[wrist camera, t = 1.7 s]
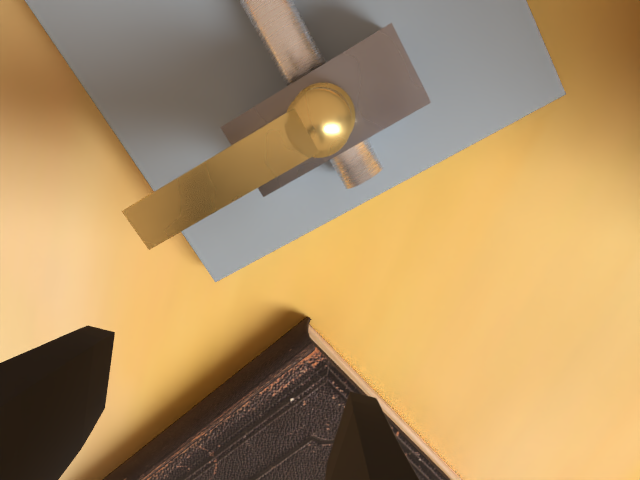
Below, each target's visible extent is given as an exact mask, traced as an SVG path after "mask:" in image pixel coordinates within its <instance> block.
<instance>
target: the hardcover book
mask: <svg viewBox="0 0 640 480" xmlns="http://www.w3.org/2000/svg"><path fill="white" fill-rule="evenodd" d="M310 320H311V319H310V318H308V317H306V318H305V319H304V320H303V321H301V322H300V323H299V324H298V325H296V326H295V327H294V328H293V329H291V330H290V331H289V332H287V333H286V334H285V335H284V336H282V337H281V338H280V339H279V340H277V341H276V342H275V343H274V344H272V345H271V346H270V347H269V348H267V349H266V350H265V351H264V352H262V353H261V354H260V355H259V356H257V357H256V358H255V359H254V360H252V361H251V362H250V363H249V364H247V365H246V366H245V367H244V368H242V369H241V370H240V371H238V372H237V373H236V374H235V375H233V376H232V377H231V378H230V379H228V380H227V381H226V382H225V383H223V384H222V385H221V386H220V387H218V388H217V389H216V390H215V391H213V392H212V393H211V394H210V395H208V396H207V397H206V398H205V399H203V400H202V401H201V402H200V403H198V404H197V405H196V406H195V407H193V408H192V409H191V410H190V411H188V412H187V413H186V414H184V415H183V416H182V417H181V418H179V419H178V420H177V421H176V422H174V423H173V424H172V425H171V426H169V427H168V428H167V429H166V430H164V431H163V432H162V433H161V434H159V435H158V436H157V437H156V438H154V439H153V440H152V441H151V442H149V443H148V444H147V445H146V446H144V447H143V448H142V449H141V450H139V451H138V452H137V453H135V454H134V455H133V456H132V457H130V458H129V459H128V460H127V461H125V462H124V463H123V464H122V465H120V466H119V467H118V468H117V469H115V470H114V471H113V472H112V473H110V474H109V475H108V476H107V477H105V478H104V479H103V480H325V475H326V467H327V461H328V458H329V455H330V452H331V449H332V446H333V443H334V439H335V436H336V433H337V430H338V427H339V424H340V421H341V417H342V414H343V411H344V408H345V405H346V402H347V398H348V395H349V392H354V393H358V394H362V395H366V396H370V397H374V398H377V400H378V402H379V404H380V406H381V408H382V410H383V412H384V414H385V416H386V418H387V420H388V422H389V424H390V426H391V428H392V430H393V432H394V434H395V436H396V438H397V440H398V442H399V444H400V446H401V448H402V450H403V452H404V453H405V455H406V457H407V459H408V461H409V462H410V464H411V466H412V468H413V469H414V471H415V473H416V475H417V477H418V478H419V480H462V479H461V478H460V477H459V476H458V475H457V474H456V473H455V472H454V471H453V470H452V469H451V468H450V467H449V466H448V465H447V464H446V463H445V462H444V461H443V460H442V459H441V458H440V457H439V456H438V455H437V454H436V453H435V452H434V451H433V450H432V449H431V448H430V447H429V446H428V445H427V444H426V442H425V441H424V440H423V439H422V438H421V437H420V436H419V435H418V434H417V433H416V432H415V431H414V430H413V429H412V428H411V427H410V426H409V425H408V424H407V423H406V422H405V421H404V420H403V419H402V418H401V417H400V416H399V415H398V414H397V413H396V412H395V411H394V410H393V409H392V408H391V407H390V406H389V405H388V404H387V403H386V402H385V401H384V400H383V399H382V398H381V397H380V396H379V395H378V394H377V393H376V392H375V391H374V390H373V389H372V388H371V387H370V386H369V385H368V384H367V383H366V382H365V381H364V379H363V378H362V377H361V376H360V375H359V374H358V373H357V372H356V371H355V370H354V369H353V368H352V367H351V366H350V365H349V364H348V363H347V362H346V361H345V360H344V359H343V358H342V357H341V356H340V355H339V354H338V353H337V352H336V351H335V350H334V349H333V348H332V347H331V346H330V345H329V344H328V343H327V342H326V341H325V340H324V339H323V338H322V337H321V336H320V335H319V334H318V333H317V332H316V331H315V330H314V329H313V328H312V327H311V326H310V325H309V322H310Z"/></svg>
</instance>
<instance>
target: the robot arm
mask: <svg viewBox="0 0 640 480" xmlns="http://www.w3.org/2000/svg"><path fill="white" fill-rule="evenodd" d="M114 335H115V332H111V331H107V330H103V329H99V328H95V327H91V326H86V327H83V328H80V329H78V330H76V331H73V332H71V333H69V334H66V335H64V336H62V337H59V338H57V339H55V340H53V341H50V342H48V343H46V344H44V345H41V346H39V347H37V348H34V349H32V350H30V351H27V352H25V353H23V354H20V355H18V356H16V357H13V358H11V359H9V360H6V361H4V362H2V363H0V480H58V479H59V478H60V477H61V475H62V474H63V473H64V471H65V470H66V469H67V467H68V466H69V465H70V463H71V462H72V461H73V459H74V458H75V457H76V455H77V454H78V452H79V451H80V450H81V448H82V447H83V445H84V443H85V442H86V440H87V438H88V437H89V435H90V433H91V432H92V430H93V428H94V426H95V425H96V423H97V421H98V419H99V417H100V416H101V414H102V412H103V410H104V408H105V402H106V395H107V387H108V380H109V372H110V365H111V357H112V350H113V342H114ZM325 480H419V478H418V477H417V475H416V473H415V471H414V469H413V468H412V466H411V464H410V462H409V461H408V459H407V457H406V455H405V453H404V452H403V450H402V448H401V446H400V444H399V442H398V440H397V438H396V436H395V434H394V432H393V430H392V428H391V426H390V424H389V422H388V420H387V418H386V416H385V414H384V412H383V410H382V408H381V406H380V404H379V402H378V400H377V398H374V397H370V396H366V395H362V394H358V393H354V392H349V395H348V398H347V402H346V405H345V408H344V411H343V414H342V417H341V421H340V424H339V427H338V430H337V433H336V436H335V439H334V443H333V446H332V449H331V452H330V455H329V458H328V461H327V467H326V475H325Z"/></svg>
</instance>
